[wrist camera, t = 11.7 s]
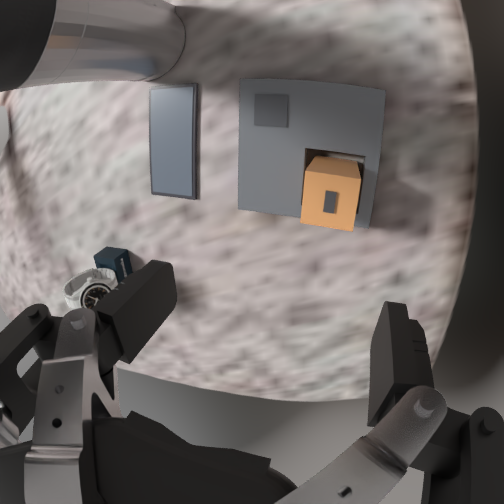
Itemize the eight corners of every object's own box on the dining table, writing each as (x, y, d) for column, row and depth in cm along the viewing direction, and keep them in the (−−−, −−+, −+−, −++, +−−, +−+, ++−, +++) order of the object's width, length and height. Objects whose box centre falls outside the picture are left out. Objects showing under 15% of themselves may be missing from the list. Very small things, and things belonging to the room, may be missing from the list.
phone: (156, 191, 35) (151, 194, 34) (154, 87, 29) (149, 87, 28) (198, 197, 33) (194, 199, 32) (200, 83, 27) (195, 83, 26)
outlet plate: (246, 80, 25) (239, 78, 24) (382, 92, 22) (386, 90, 20) (244, 203, 31) (237, 209, 30) (367, 221, 28) (368, 229, 26)
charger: (316, 155, 27) (304, 171, 20) (356, 161, 26) (361, 180, 19) (312, 194, 29) (299, 223, 22) (351, 200, 28) (352, 232, 21)
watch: (145, 284, 42) (99, 329, 33) (107, 276, 44) (62, 314, 35) (137, 250, 39) (84, 292, 30) (98, 245, 42) (48, 280, 32)
